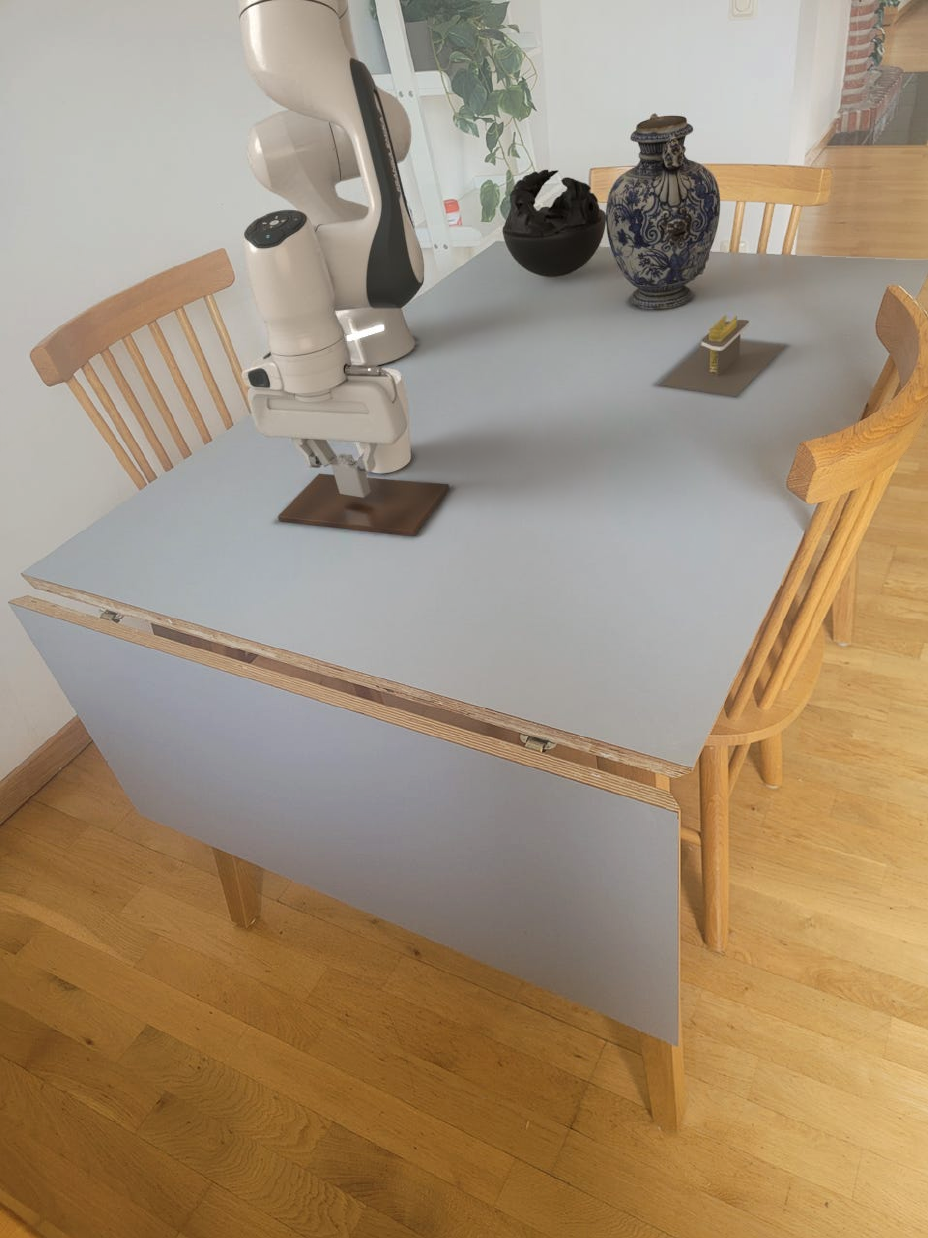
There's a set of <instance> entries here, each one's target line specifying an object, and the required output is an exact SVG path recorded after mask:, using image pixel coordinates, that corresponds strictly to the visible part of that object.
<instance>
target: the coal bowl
mask: <svg viewBox="0 0 928 1238" xmlns="http://www.w3.org/2000/svg"><path fill="white" fill-rule="evenodd" d="M557 173H559V170H551V171H549V169H542V170H541V171H539V172H538V171H533V172H532V173H529V174H526V175H524V176H523V177H522V179H519V180H517V182H516V183H515V185H514V187H513V190H511V192H510V194H509V203H510V208H509V213H508V215H507V218H506V219H505V222H504V225H503V226H502V230H501V231H502V232H501V233H502V236H503V240H504V243H505V244H506V248H507V250H508V252H509V253H510V255H511V256H512V257H513V259H514V260H515V261H516V262H517V264H519V266H521V267H522V268H523V269H525V270H526V271H528V272H530V273H532V274H533V275H534V274H535V275H537V276H541V277H546V278H559V277H563V276H566V275H569V274H572V273H574V272H576V271H578V270H579V269H581V268H582V267H583V266H585V265H586V264H587V263H588V262H589V261H590V260H591V259H592V258H593V256H594V255H595V254H596V252H597V250H598V249H599V247H600V245H601V243H602V241H603V237H604V234H605V232H606V231H605V230H606V211H604V210H603V209H601V208H600V205H599V203H598V202H599V200H598V198H597V196H596V194H595V193H593V192H591V190H592V187H591V186H590V185H589V184H587V183H586V182H582V181H580V180H577V179H575V178H572V177H567V176H566V177H563V178H562V179H561V180H560V181H561V184H562V185H564V187H566V189H565V191H562V192H561V194H560V195H559V196H557V197H556V198H554V200H553V202H552V204H551V206H542V207H540V209H538V210H537V209H536V207H535V204H536V199H537V197H538V195H539V193H540V192H541V190H542V188H543V186H545V184H546V183H547V182H548V181H550V180H551V178H552V177H554V175H556V174H557Z"/></svg>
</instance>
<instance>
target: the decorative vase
mask: <svg viewBox="0 0 928 1238" xmlns="http://www.w3.org/2000/svg"><path fill="white" fill-rule="evenodd" d="M693 132H694V127H693V126H692V124H690V123H688V119H687V117H686V116H684V115H683V116H682V115H662V116H659V115H658V114H657V113H656V112H655V113H652V114H651V115H650V116H649V118H648V119H645V120H643V121H641V122H639V123H637V124H636V127H635V130H634V131H633V132H632V133H631V134H630V141H631V142H634V143H637V145H638V147H639V150H640V151H639V153H638V154H637V155H638V158H639V162H638V163H637V164H636V166H634V167H632V168H631V169H630V168H629V170H627V171H625V172H623V173H622V174H621V175H620V176H619V177H618V178H617V179H616V180H615V181H614V182H613V184H612V186H611V188H610V190H609V193H608V195H607V196H608V197H607V201H606V206H605V208H606V210H605V214H606V225H605V227H606V234H607V239H608V244H609V246H610V250H611V253H612V255H613V258H614V260H615V262H616V264H617V267H618V268H619V270H620V272H621V274H622V275H623V276H624V277H625V279H626V280H627V281H628V283H630V284H631V285H632V286H633V287H635V288H636V289H635V290H634V291H633V292H632V294H631V296H630V302H631V304H632V305H634V306H635V307H637V308H639V309H644V310H652V311H655V310H669V309H674V308H678V307H680V306H684V305H685V304H687V303H689V301H691V300H692V298H693V292H692V290H691V289H690V288H689V287H688V286H686V285H688V284H689V283H690V282H692V281H694V280H696V278H697V277H698V276H700V275H703V273H704V271H705V269H706V264H707V262H708V261H709V259H710V258H709V257H710V252H711V249H712V248H713V245H714V242H715V240H716V239H715V238H716V235H717V231H718V226H719V221H720V213H721V194H720V188H719V184H718V181H717V179H716V177H715V175H714V174H713V172H712V171H710V169H708V168H707V167H705V165H702V164H701V163H699V162H697V161H694V160H691V159H689V158H687V157H686V155H685V153H686V151H687V148H686V147H685V141H686V137H687V136H688V135H690V134H692V133H693Z"/></svg>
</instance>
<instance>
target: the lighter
mask: <svg viewBox="0 0 928 1238" xmlns="http://www.w3.org/2000/svg"><path fill="white" fill-rule="evenodd" d="M306 442H307V443H308V445H309V446H310V448H311V449H312V451H313V452H314V453H315V455H316V456H317V458H318V459H319V461H320V462H321V464H322V465H321V466H322V467H324V468H326V467H328V466H331V470H332V472H333V475H334V476H335V479H336V482H337V486H338V489H339V492H340V494H344V495H350V496H356V497H362V498H363V497H365V496H366V495H368V494H369V493H370V492H371V490H370V487H369V483H368V480H367V478H368V477H367V473H366V471H360V470H359V465H358V463H357V460H355V458H354V457H353V455H352V454H346V453H340V454H339V455H337V454H336V452H335V450H334V449H333V448H332V446H331V445H330V444H329V442H328V440H315V439H306Z"/></svg>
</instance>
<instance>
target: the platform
mask: <svg viewBox="0 0 928 1238" xmlns="http://www.w3.org/2000/svg"><path fill="white" fill-rule="evenodd" d="M748 327H750V320H747V319H738V315H735V316H734V318H733V319H732V320H731V321H727V315H723V317H722V318H721V319H719V321H717V322H716V323H715V324H714V325H713V326H712V327H711V328H709V331H708V333H707V334H706V335H705V336H704V337H703V338H701V342H700V343H701V344H700V346H699V347H698V348H697V349H695V351H694V352H692V354H690V355H689V356H688V357H687V358H686V359H685V360H684V361H683V362H682V363H680V364H679V365H678V366H677V367H676V368H675V369H674V370H673V371H672V372H671V373H670V374H669V375H667V376H666V377H665V378H664V379H663V380H662V381H661V382H659V384H658V386H662V387H669V388H676V389H680V390H681V389H683V390H688V391H689V390H690V391H693V392H702V393H709V394H715V395H722V396H728V397H738V396H739V395H740V394H741V393H742V392H743V391H744V390H745V388H747V386H748V385H749V384H750V383H751V382H752V381H753V380H754V379H755V378H756V377H757V376H758V375H759V374H760V373H761V372H762V371H763V370H764V369H765V368H766V366H767V365H769V364H770V363H771V361H772V360H773V359H774V358H775V357H776V356H777V355H778V354H779V353H780V352H781V351H782V350H783V349H784V348H785V345H780V344H771V343H762V342H754V341H746V340H745V341H744V340H741V334H743V332H744V331H745V330H746V329H747V328H748Z"/></svg>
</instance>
